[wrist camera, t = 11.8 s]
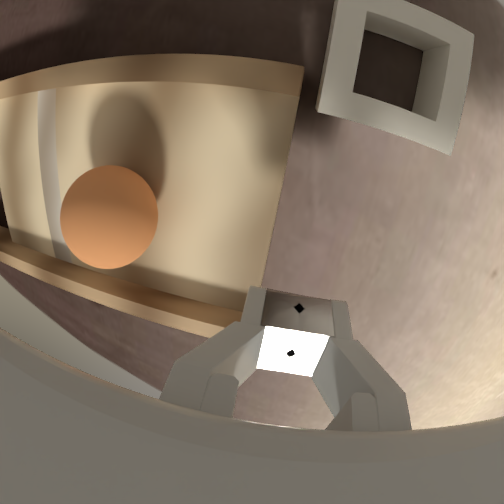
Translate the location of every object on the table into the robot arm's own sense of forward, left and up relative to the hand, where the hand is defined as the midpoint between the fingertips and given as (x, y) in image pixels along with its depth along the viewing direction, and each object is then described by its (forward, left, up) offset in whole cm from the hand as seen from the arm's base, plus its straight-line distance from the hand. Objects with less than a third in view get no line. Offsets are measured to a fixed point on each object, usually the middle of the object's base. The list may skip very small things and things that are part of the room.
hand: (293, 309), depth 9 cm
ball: (+7, -1, -2) cm, 8 cm away
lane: (+12, -1, -5) cm, 13 cm away
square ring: (-2, -8, -5) cm, 9 cm away
